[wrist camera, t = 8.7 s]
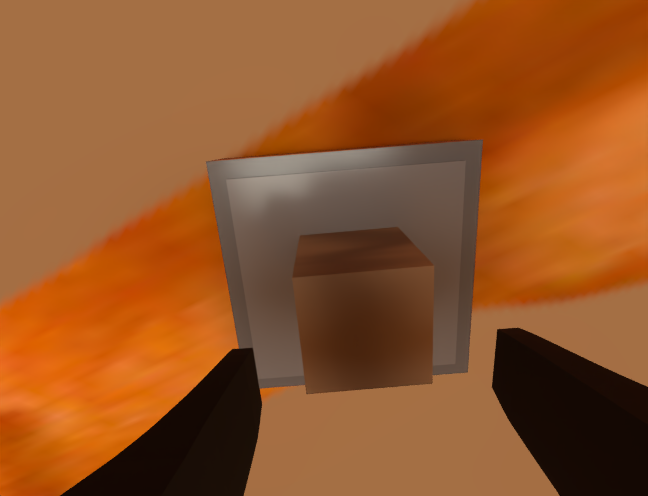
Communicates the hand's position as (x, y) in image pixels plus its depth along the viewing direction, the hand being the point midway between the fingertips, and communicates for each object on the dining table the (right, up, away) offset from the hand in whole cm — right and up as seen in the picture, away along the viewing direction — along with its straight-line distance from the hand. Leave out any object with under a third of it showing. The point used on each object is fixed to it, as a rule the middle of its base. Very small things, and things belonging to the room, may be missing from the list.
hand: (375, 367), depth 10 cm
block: (0, +2, +6) cm, 7 cm away
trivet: (0, +3, +9) cm, 9 cm away
